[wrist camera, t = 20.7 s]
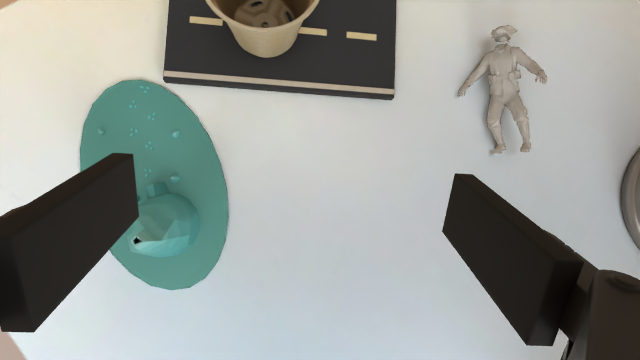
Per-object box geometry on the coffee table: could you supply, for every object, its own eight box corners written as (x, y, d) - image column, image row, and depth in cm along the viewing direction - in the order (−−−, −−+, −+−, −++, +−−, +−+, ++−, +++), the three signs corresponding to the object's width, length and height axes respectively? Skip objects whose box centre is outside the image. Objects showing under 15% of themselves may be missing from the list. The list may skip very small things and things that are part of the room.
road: (394, -13, 39) (397, -18, 38) (391, 100, 38) (394, 97, 37) (174, -38, 36) (172, -44, 35) (165, 82, 35) (162, 79, 34)
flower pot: (193, 24, 35) (166, -36, 26) (263, -40, 36) (260, -116, 28) (265, 94, 35) (262, 57, 27) (333, 29, 37) (350, -27, 28)
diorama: (187, 63, 36) (160, 17, 27) (253, 264, 35) (247, 281, 26) (55, 100, 34) (-19, 63, 25) (122, 311, 33) (69, 346, 25)
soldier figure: (462, 156, 39) (449, 37, 36) (473, 144, 43) (462, 35, 40) (549, 152, 35) (542, 15, 31) (553, 139, 38) (548, 15, 35)
